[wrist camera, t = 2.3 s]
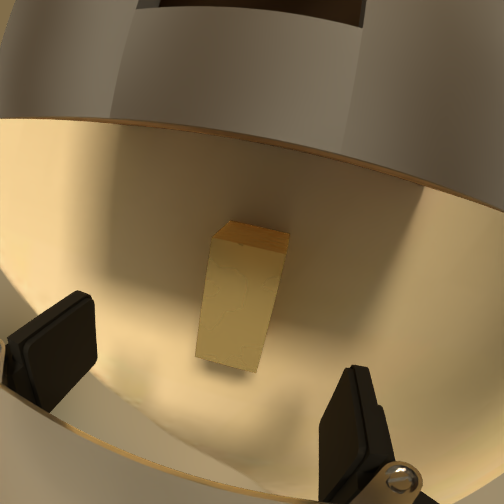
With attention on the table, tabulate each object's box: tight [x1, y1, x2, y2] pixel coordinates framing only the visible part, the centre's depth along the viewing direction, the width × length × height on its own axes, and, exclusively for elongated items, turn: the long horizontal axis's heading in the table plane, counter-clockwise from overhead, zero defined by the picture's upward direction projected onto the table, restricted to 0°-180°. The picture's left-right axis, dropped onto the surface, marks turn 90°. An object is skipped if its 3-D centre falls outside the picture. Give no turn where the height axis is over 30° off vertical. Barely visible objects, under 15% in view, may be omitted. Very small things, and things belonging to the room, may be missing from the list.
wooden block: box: [195, 221, 290, 373], centre depth 15 cm, size 3×6×4 cm, turn 169°
